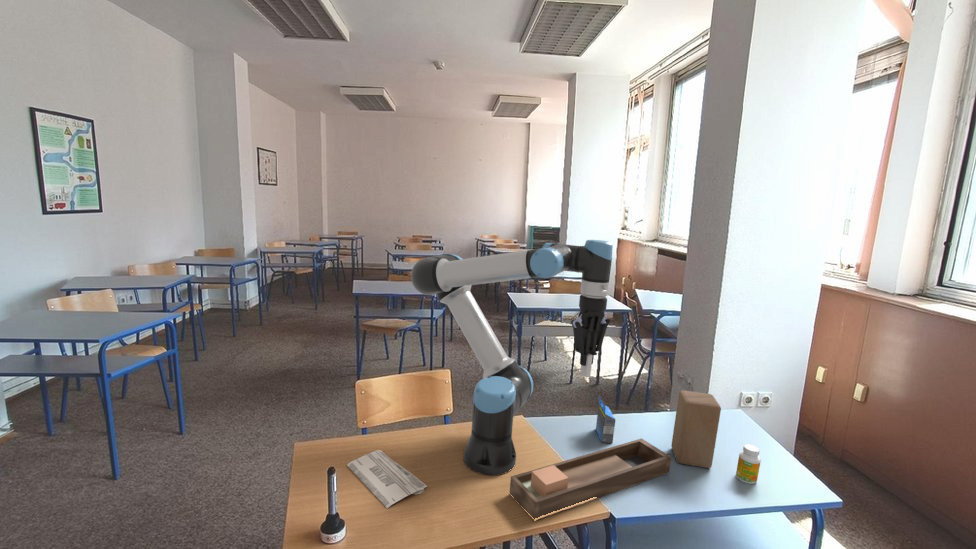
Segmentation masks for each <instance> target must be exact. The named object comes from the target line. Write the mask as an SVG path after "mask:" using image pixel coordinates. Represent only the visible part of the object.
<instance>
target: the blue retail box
mask: <svg viewBox="0 0 976 549" xmlns="http://www.w3.org/2000/svg"><path fill="white" fill-rule="evenodd" d="M597 408H598V409H597V414H596V415H597V416H596V424H595V430H596V433H597V435H598V438H599V440H600V442H601V443H605V444H606V443H607V444H613V442H614V432H615V427H616V426H615V425H616V421H617V420H616V418H615V416H614V414H613V413H612V411H611V409H610V407H609V406H607V405H605V403H604V400H602V397H601V395H599V396H598V407H597Z"/></svg>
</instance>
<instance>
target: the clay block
mask: <svg viewBox="0 0 976 549" xmlns="http://www.w3.org/2000/svg"><path fill="white" fill-rule="evenodd" d="M551 465H552V464H551ZM548 466H549V465H548ZM544 467H545V466H544ZM541 468H542V467H541ZM534 470H535V469H534ZM531 487H532V488H533V489H534V490H535V491H536V492H537V493H538V494H539V495H540V496H541V497H544V496H547V495H550V494H553V493H556V492H559V491H562V490H565V489H567V487H568V477H567V476H566V475H565V474H564V473H562V472H561V471H560V470H559V469H558V468H557V467H555V466H554V465H552V466H549V467H545V468H542V469H539V470H535V471H532V476H531Z"/></svg>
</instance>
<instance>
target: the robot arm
mask: <svg viewBox="0 0 976 549" xmlns="http://www.w3.org/2000/svg"><path fill="white" fill-rule="evenodd" d="M612 261H613V244H612V242H611V241H608V240H602V239H587V240H586V241H585V244H584V245H574V244H564V243H558V242H545V243H544V244H543V245H542V247H541V248H534V249H527V250H520V251H513V252H506V253H505V252H504V253H499V254H498V253H497V254H491V255H490V254H489V255H485V256H484V255H483V256H477V257H470V258H462V257H461V256H459V255H457V254H453V253H452V254H451V253H442V254H440V255H433V256H427V257H424V258H422V259H419V260H418V261H416V263H415V264H414V265H413V267H412V269H411V271H410V273H411V274H410V280H411V284H412V286H413V288H415V290H416V291H418V293H420V294H422V295H426V296H434V295H436V297H437V299H438V301H439V302H440V303H441V304H444V305H446V306H447V307H448V309H449V311H450V313H451V314H452V315H453V316H452V317H453V318H454V319H455V321H456V323H457V325H458V328H460V330H461V332H462V333H463V335H464V338H465V339H466V341H467V342H468V344H469V346H470V348H471V350H472V351H473V353H474V355H475V357H476V358H477V361H478V362H479V364H480V366H481V367H482V369H483V374H482V379H480V380H479V381H478V382H477V383H476V385H475V387H474V391H473V395H472V399H473V400H472V401H473V402H472V418H471V420H472V421H471V423H472V424H471V433H470V436H469V438H468V440H467V443H466V446H465V448H464V449H463V462H464V464H465V465H466V467H468V469H470V470H472V471H473V472H474V473H478V474H481V475H485V476H486V475H488V476H499V475H498V474H500V475H503V474H502V473H504V474H506V473H505V472H507V473H509V472H510V471H511V470H510V469H512V468H513V467H514V468H515V466H516V461H517V452H516V449H515V445H514V441H513V436H512V435H513V426H514V417H515V415H516V414H517V413H518V412H519V410H520V409H522V407H523V406H524V405H525V404H526V403H528V401H529V400H530V398H531V395H532V394H533V390H534V380H533V378H532V376H531V374H530V372H529V371H528V370H527V369H526V368H525V367H522V366H521V365H519V364H518V363H517V361H516V359H515V358H513V357H509V356H508V355H507V353H506V351H505V350H504V347H503V346H502V343H501V342H500V341H499V339H498V337H497V335H496V334H495V331H493V329H492V327H491V325H490V323H489V322H488V320H487V318H486V316H485V315H484V314H485V313H483V311H482V309H481V308H480V306H479V304H478V302H477V301H476V299H475V297H474V295H473V294H472V292H471V289H472V286H475V285H476V286H477V285H483V284H491V283H500V282H510V281H518V280H526V279H535V278H537V279H538V278H543V279H548V278H552V277H555V276H558V275H559V274H560V273H562V272H573V273H581V283H580V295H579V302H578V306H579V307H578V308H579V313H578V315H577V316H578V317H577V318H576V319H575V320H574V319H572V320H571V321H570V324H571V326H572V330H573V331H572V332H573V338H574V339H573V340H574V351H575V352H577V353H579V354H580V356H579V357H580V358H579V364H580V370H579V371H580V372H579V374H580V375H581V376H583V377H585V378H590V377H591V374H592V373H591V372H592V365H593V363H594V356H597V355H598V352H600V351H601V348H602V346H603V342H604V340H605V335H606V333H607V328H608V326H609V324H610V323H611V319H610V318H607V317H605V311H606V310H607V306H608V305H607V304H608V298H607V296H608V294H609V285H610V277H611V268H612V263H613V262H612ZM514 465H515V466H514ZM514 468H513V469H514ZM513 469H512V470H513ZM509 470H510V471H509ZM508 471H509V472H508Z"/></svg>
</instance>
